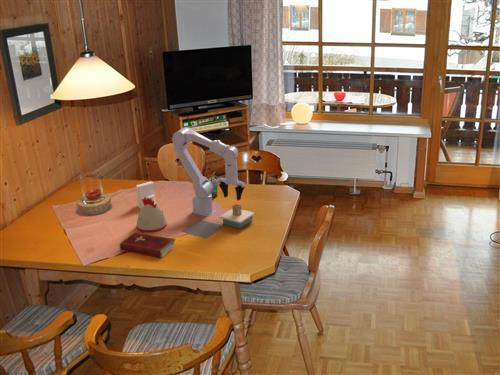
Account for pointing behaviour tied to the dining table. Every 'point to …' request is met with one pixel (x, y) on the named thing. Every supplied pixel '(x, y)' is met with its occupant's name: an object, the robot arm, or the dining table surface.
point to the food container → (214, 185)
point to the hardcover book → (147, 244)
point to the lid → (237, 214)
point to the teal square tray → (237, 225)
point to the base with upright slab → (145, 193)
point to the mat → (203, 229)
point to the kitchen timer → (150, 217)
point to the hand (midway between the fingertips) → (232, 198)
